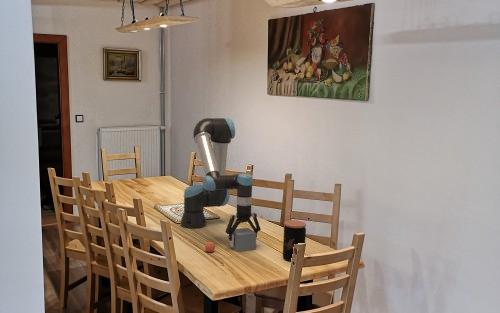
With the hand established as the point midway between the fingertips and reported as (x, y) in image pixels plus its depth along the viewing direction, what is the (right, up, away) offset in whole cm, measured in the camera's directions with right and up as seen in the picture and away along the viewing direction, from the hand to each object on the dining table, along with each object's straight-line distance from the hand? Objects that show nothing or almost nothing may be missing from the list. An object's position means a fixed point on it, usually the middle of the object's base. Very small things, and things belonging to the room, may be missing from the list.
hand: (242, 245), depth 246 cm
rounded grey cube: (0, -1, 0) cm, 1 cm away
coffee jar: (+25, -4, -13) cm, 29 cm away
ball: (-16, +1, -8) cm, 18 cm away
